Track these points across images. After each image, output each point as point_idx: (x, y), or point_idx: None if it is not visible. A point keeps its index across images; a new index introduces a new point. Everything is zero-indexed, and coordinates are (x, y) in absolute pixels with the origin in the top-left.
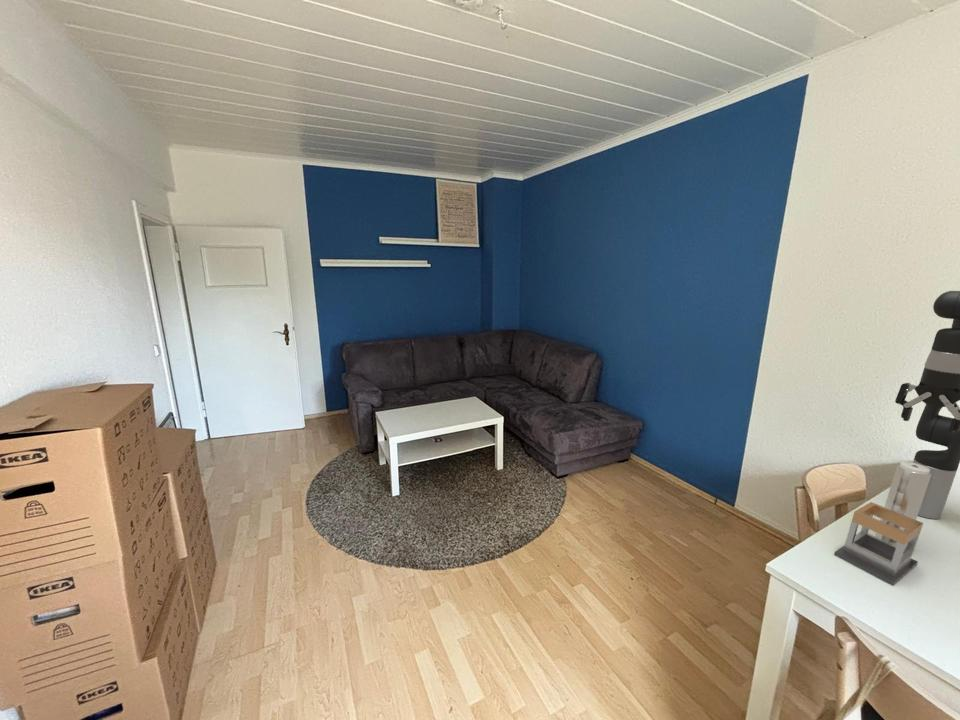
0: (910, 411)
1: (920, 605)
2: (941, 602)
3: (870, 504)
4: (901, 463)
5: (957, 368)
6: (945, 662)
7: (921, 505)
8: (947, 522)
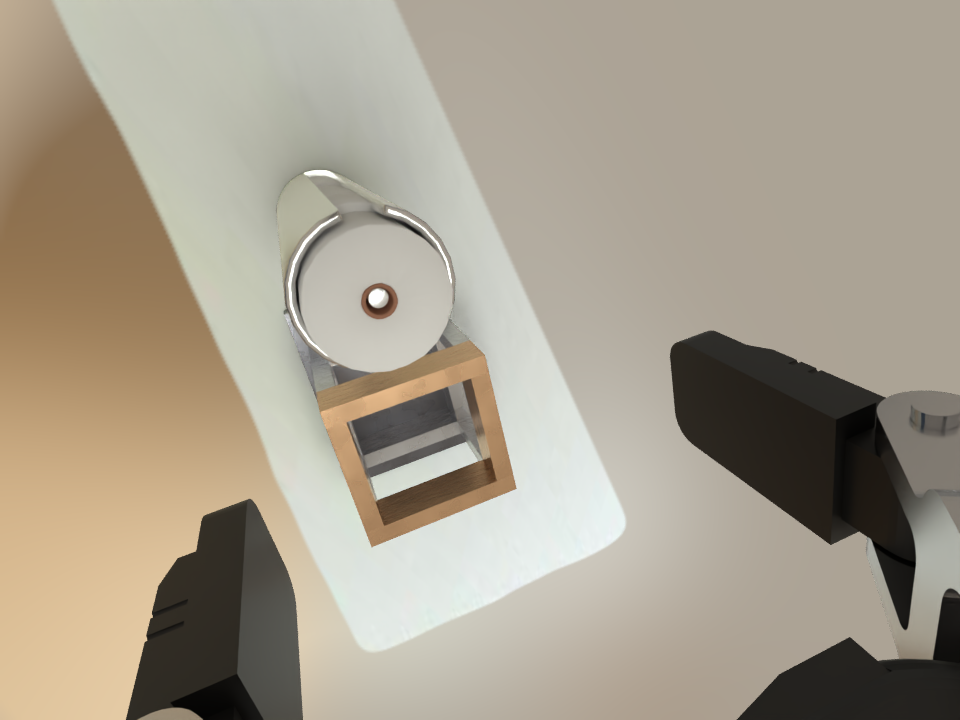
0: (276, 679)
1: (533, 430)
2: (541, 369)
3: (338, 436)
4: (329, 353)
5: None
6: (621, 524)
7: None
8: None
